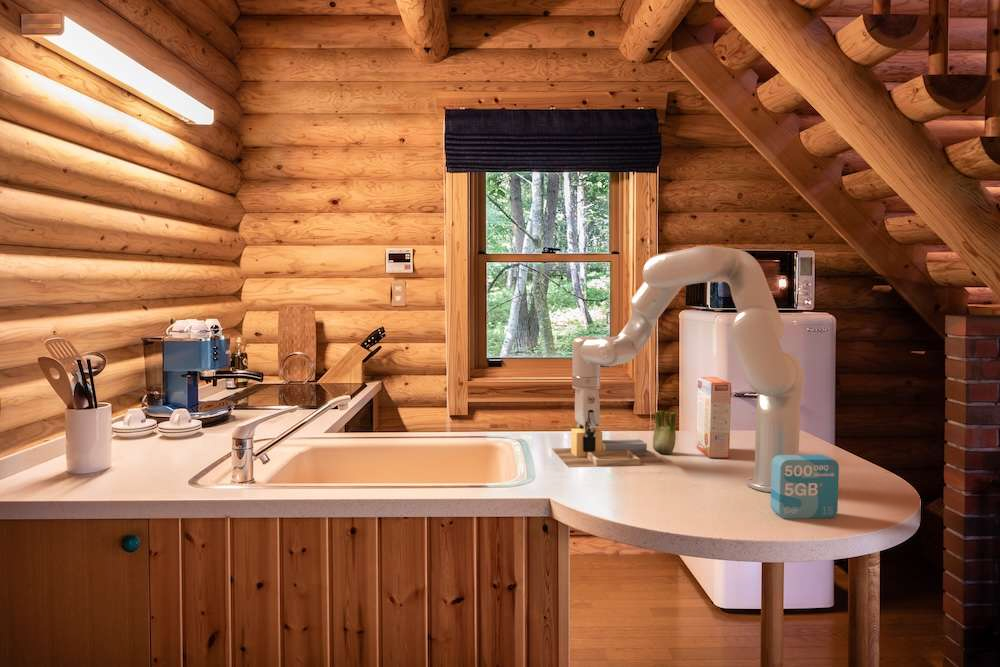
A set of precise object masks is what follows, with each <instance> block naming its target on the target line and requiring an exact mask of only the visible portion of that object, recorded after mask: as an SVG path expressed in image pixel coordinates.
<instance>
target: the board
mask: <svg viewBox="0 0 1000 667" xmlns="http://www.w3.org/2000/svg"><path fill="white" fill-rule="evenodd" d="M647 448H648V443H646V442H644V441H643V440H642V439H602V451H595V452H587V457H576V456H575V455H574V454H573V453H571V447H557V448H556V447H555V448H551V449H552V451H553V452H554V454H556V455H557V456H558V457H559V459H560V460H561V461H562V462H563V463H564V465H565V466H567V468H595V467H597V468H599V467H600V468H601V467H605V468H606V467H634V466H635V467H638V466H644V467H645V466H669V464H668V463H667V462H665V461H664V460H662V459H661V458H660V457H658V456H656V455H655V454H653V453H652V452H650V451H649V450H648V449H647Z"/></svg>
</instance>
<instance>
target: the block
mask: <svg viewBox="0 0 1000 667" xmlns="http://www.w3.org/2000/svg"><path fill="white" fill-rule="evenodd" d="M570 429H571V430H570V432H571V433H570V436H571V437H570V444H571V445H570V448H571V453H573V454H574V455H575V456H576V457H587V452H584V451H583V437H585V436H584V428H578V429H577V428H570ZM587 429H588V428H587ZM602 440H603V432H602V430H600V429H598V427H596V428H595V451H602Z"/></svg>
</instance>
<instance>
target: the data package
mask: <svg viewBox="0 0 1000 667" xmlns="http://www.w3.org/2000/svg"><path fill="white" fill-rule="evenodd" d="M839 472H840V466H839V463H838V462H837V460H835V459H833V458H830V457H829V456H826V455H824V454H799V455H777V456H775V457H774V458H773V460H772V468H771V492H770V508H771V511H773V512H774V513H776V515H778V516H780V517H781V518H782V519H787V520H794V519H798V520H800V519H803V520H804V519H811V520H812V519H832V518H834V517H836V516H837V514H838V511H839V510H838V508H839V504H838V503H839V478H840V477H839V476H840V475H839V474H840V473H839Z"/></svg>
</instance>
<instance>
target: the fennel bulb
mask: <svg viewBox="0 0 1000 667" xmlns="http://www.w3.org/2000/svg"><path fill="white" fill-rule="evenodd" d="M676 416H677V413H676V412H670V411H664V410H660V411H659V410H658V411H657V410H656V411H654V418H655V419H654V420H655V422H654V430H653V437H652V448H653V450H654V451H655V452H657V453H659V454H662V455H663V454H664V455H665V454H667V455H669V454H672V453H673V452H674V449H675V447H676V446H675V445H676V438H677V437H676V436H677V435H676V433H677V431H676V418H677V417H676Z"/></svg>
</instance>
